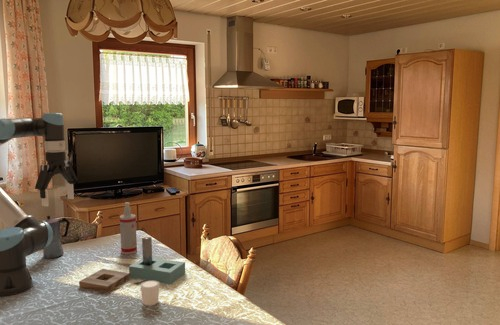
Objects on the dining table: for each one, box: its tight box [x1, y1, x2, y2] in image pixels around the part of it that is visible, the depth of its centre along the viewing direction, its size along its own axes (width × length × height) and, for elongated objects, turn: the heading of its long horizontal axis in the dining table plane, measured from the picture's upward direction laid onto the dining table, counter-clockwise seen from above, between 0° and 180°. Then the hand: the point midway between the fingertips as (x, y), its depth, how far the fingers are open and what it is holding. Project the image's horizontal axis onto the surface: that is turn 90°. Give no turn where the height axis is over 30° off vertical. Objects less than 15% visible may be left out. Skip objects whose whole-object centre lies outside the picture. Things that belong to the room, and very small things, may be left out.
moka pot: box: [42, 215, 71, 259], centre depth 204 cm, size 10×15×20 cm, turn 115°
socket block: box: [78, 268, 131, 293], centre depth 173 cm, size 14×14×2 cm
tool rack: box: [128, 257, 186, 285], centre depth 180 cm, size 12×20×5 cm, turn 70°
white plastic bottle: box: [119, 201, 138, 255], centre depth 209 cm, size 8×8×25 cm
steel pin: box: [141, 236, 153, 266], centre depth 181 cm, size 4×4×16 cm
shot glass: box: [140, 280, 160, 306], centre depth 156 cm, size 7×7×7 cm
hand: (58, 202), depth 174 cm, fingers open, 13 cm apart
